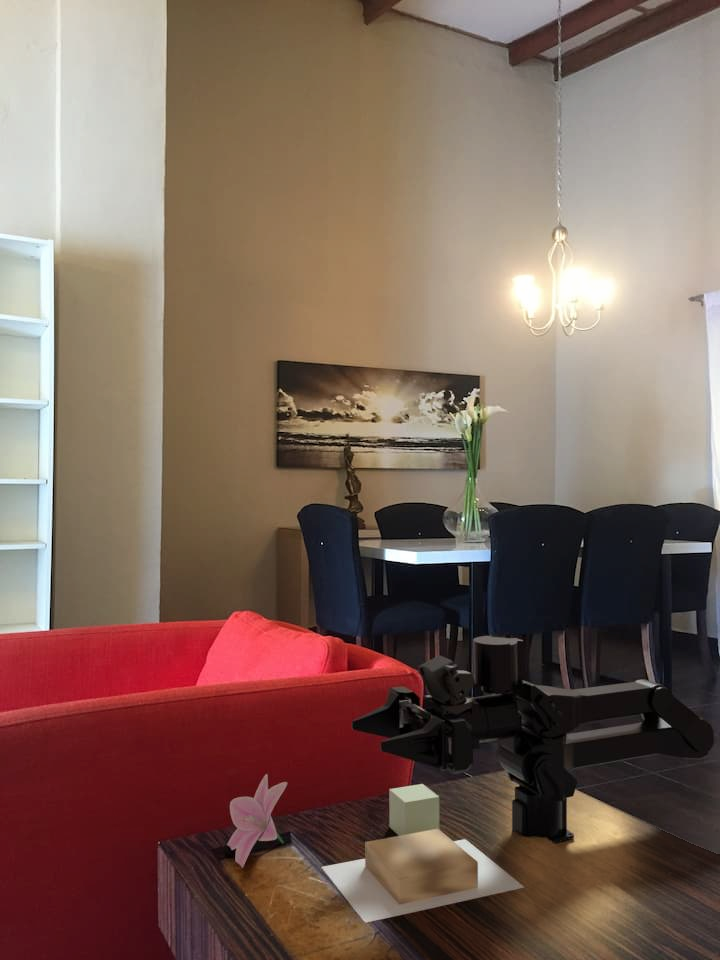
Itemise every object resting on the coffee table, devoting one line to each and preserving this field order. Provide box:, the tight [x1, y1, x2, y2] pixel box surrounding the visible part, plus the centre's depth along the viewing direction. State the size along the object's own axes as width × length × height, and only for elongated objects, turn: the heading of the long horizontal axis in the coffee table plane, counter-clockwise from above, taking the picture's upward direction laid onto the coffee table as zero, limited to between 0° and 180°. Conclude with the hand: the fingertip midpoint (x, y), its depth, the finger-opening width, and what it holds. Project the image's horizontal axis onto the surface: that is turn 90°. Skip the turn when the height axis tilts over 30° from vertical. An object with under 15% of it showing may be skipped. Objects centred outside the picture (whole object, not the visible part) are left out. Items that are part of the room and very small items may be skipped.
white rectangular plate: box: [320, 838, 525, 924], centre depth 104 cm, size 20×14×1 cm
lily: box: [226, 773, 288, 869], centre depth 112 cm, size 12×12×10 cm
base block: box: [364, 828, 478, 905], centre depth 104 cm, size 10×10×3 cm
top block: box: [388, 783, 440, 836], centre depth 117 cm, size 5×5×6 cm
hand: (365, 735), depth 107 cm, fingers open, 9 cm apart
